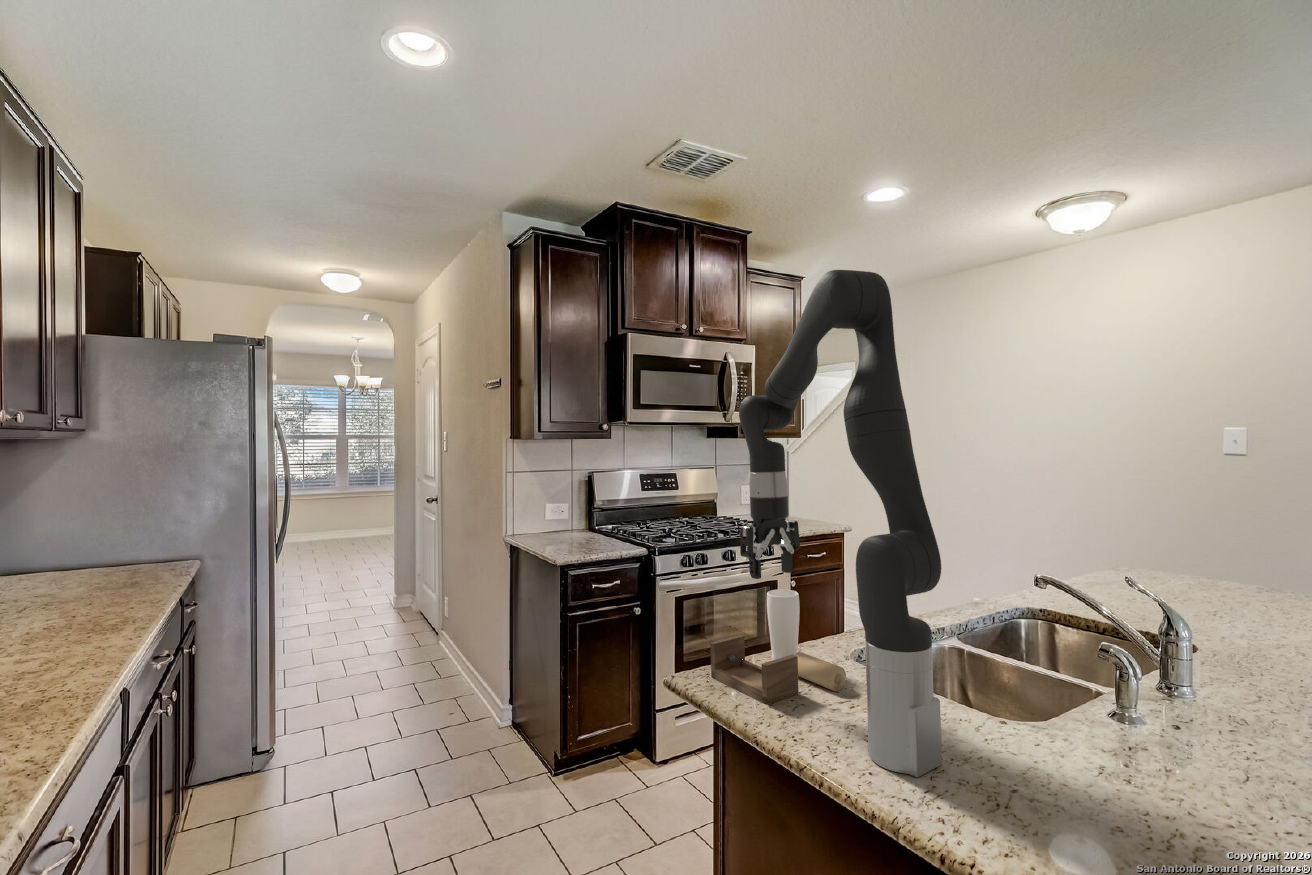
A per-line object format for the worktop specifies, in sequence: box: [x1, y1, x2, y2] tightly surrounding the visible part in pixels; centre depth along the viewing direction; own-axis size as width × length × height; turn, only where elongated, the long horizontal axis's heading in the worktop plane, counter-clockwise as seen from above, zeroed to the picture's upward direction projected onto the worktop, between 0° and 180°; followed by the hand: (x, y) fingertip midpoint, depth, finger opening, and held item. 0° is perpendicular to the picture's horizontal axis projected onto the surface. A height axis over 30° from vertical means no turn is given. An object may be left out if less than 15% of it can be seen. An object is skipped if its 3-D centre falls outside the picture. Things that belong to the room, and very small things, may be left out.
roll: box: [795, 651, 847, 692], centre depth 120 cm, size 10×5×5 cm, turn 33°
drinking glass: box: [766, 588, 800, 661], centre depth 130 cm, size 7×7×15 cm
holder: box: [709, 634, 800, 705], centre depth 119 cm, size 16×8×7 cm, turn 33°
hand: (771, 575), depth 123 cm, fingers open, 8 cm apart
